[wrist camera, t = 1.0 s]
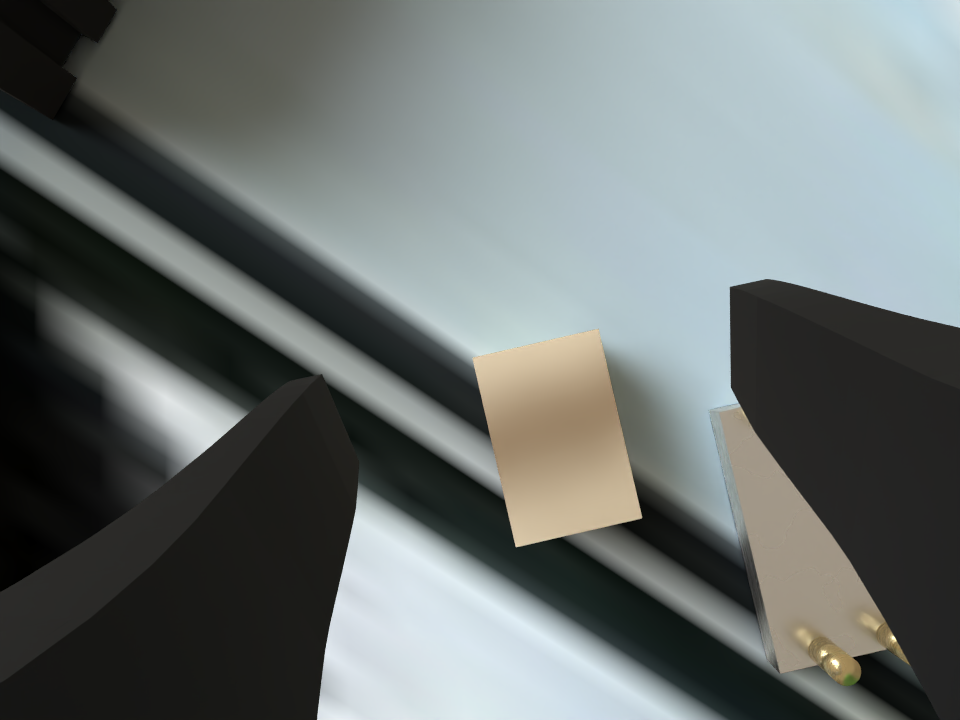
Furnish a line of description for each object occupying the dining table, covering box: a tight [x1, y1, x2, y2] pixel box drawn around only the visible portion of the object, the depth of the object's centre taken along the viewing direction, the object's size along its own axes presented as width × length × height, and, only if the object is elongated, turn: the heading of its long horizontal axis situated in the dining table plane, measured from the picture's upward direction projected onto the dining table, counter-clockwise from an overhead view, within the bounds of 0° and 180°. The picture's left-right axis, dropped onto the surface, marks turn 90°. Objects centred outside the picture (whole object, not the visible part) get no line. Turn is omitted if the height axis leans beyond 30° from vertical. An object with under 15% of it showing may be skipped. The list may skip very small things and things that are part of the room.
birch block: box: [473, 329, 642, 547], centre depth 20 cm, size 6×4×5 cm, turn 13°
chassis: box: [709, 403, 911, 686], centre depth 22 cm, size 10×6×2 cm, turn 13°
